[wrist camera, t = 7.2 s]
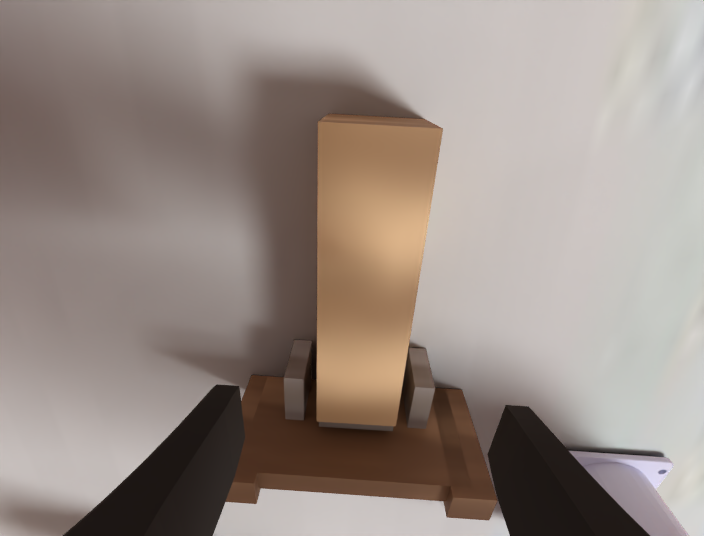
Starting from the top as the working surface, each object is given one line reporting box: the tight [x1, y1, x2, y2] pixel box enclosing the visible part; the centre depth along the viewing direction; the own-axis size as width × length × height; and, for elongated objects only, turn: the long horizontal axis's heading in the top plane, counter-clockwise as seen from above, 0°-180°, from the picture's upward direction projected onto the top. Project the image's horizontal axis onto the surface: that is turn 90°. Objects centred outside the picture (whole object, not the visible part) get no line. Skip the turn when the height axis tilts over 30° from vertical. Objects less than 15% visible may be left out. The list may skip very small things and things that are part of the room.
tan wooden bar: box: [317, 114, 443, 431], centre depth 16 cm, size 14×4×4 cm, turn 177°
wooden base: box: [225, 340, 498, 520], centre depth 18 cm, size 5×13×6 cm, turn 87°
